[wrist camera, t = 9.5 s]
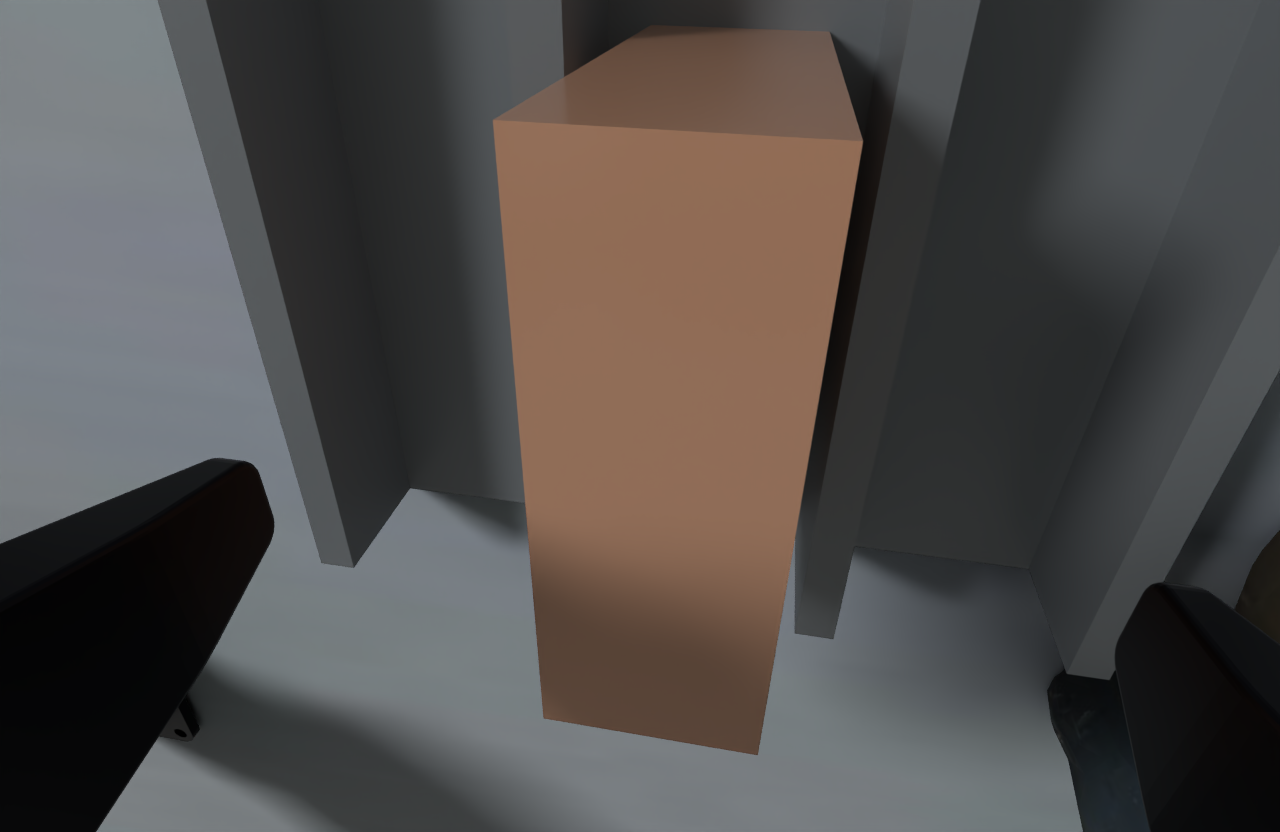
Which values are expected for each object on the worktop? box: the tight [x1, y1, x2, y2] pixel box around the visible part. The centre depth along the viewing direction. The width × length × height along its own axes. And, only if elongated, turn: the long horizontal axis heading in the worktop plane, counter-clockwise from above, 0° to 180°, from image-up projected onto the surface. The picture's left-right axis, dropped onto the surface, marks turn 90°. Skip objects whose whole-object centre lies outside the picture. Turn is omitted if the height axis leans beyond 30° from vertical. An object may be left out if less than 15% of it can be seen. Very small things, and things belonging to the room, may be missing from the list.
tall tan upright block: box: [493, 25, 863, 755], centre depth 11 cm, size 8×3×8 cm, turn 179°
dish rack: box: [158, 0, 1280, 680], centre depth 14 cm, size 14×17×4 cm
